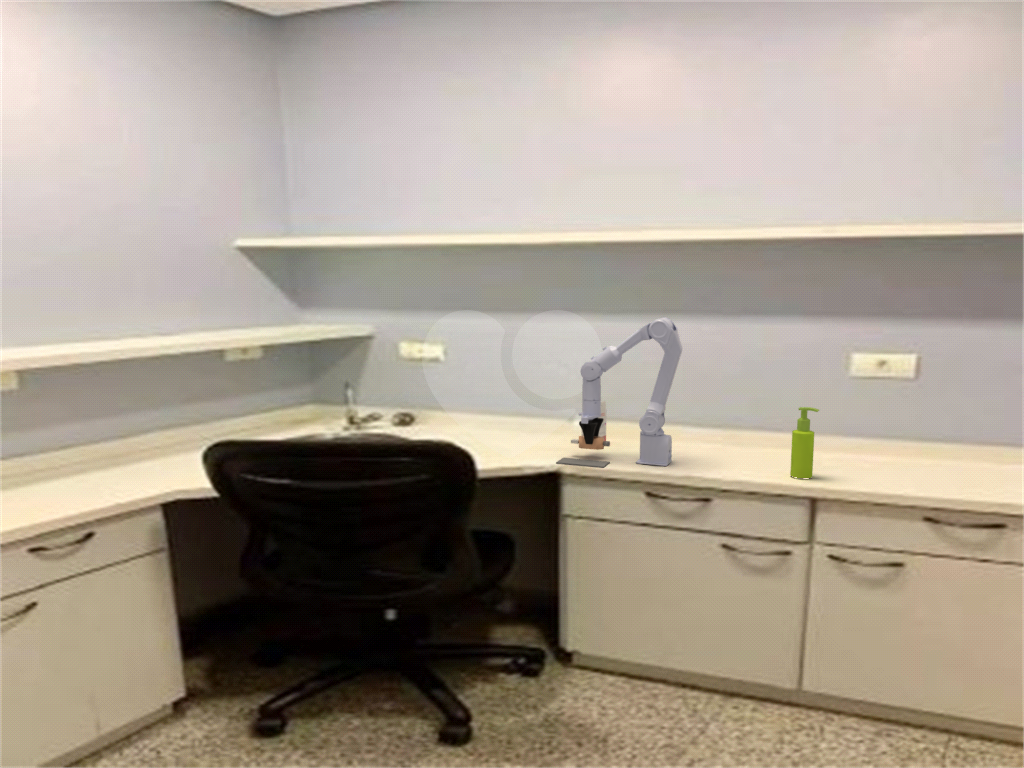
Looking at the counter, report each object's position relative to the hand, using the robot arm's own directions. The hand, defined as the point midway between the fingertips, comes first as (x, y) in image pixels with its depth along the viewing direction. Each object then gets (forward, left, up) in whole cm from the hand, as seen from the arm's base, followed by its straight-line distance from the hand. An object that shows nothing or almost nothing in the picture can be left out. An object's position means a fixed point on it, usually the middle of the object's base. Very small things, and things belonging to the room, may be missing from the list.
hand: (591, 442), depth 260 cm
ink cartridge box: (+5, -19, -5) cm, 20 cm away
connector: (0, 0, -2) cm, 2 cm away
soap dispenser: (-63, +1, -5) cm, 63 cm away
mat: (0, +8, -5) cm, 9 cm away
